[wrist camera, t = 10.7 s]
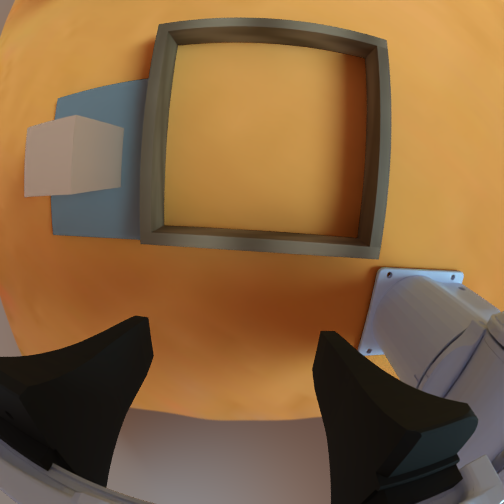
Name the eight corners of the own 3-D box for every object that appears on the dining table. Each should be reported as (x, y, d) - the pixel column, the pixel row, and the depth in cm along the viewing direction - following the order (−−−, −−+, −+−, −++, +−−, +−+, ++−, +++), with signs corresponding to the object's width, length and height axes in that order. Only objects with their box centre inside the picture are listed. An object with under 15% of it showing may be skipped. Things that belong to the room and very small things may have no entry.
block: (124, 128, 17) (75, 114, 11) (120, 187, 18) (71, 194, 12) (78, 134, 17) (27, 127, 11) (76, 188, 18) (24, 197, 12)
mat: (157, 80, 16) (154, 77, 16) (149, 238, 19) (146, 240, 19) (61, 99, 16) (57, 98, 16) (57, 233, 19) (53, 234, 19)
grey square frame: (374, 52, 15) (386, 40, 12) (365, 249, 19) (378, 259, 17) (169, 38, 15) (159, 24, 13) (154, 235, 19) (140, 243, 17)
